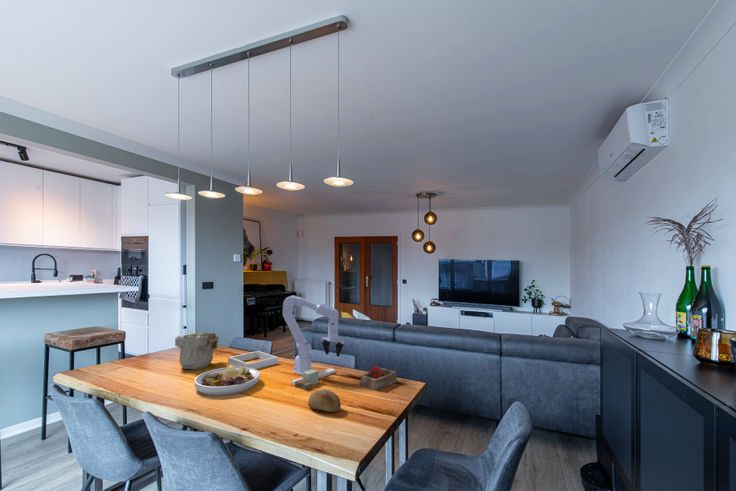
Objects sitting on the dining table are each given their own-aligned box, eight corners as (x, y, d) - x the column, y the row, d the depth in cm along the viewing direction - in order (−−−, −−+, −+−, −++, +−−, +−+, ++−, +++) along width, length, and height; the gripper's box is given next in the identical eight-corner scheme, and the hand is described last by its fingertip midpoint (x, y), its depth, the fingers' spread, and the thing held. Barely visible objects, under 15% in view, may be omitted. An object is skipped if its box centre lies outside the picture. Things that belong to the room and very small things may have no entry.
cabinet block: (302, 384, 168) (302, 372, 168) (312, 380, 173) (312, 369, 174) (308, 386, 165) (308, 374, 165) (318, 382, 171) (318, 370, 171)
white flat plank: (291, 383, 168) (291, 380, 168) (330, 370, 190) (330, 368, 190) (296, 385, 165) (296, 382, 165) (335, 372, 187) (335, 369, 187)
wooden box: (360, 385, 167) (360, 375, 167) (380, 377, 180) (380, 367, 181) (376, 390, 160) (376, 380, 161) (396, 381, 174) (396, 371, 174)
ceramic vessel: (184, 345, 210) (209, 315, 209) (211, 371, 206) (236, 340, 206) (157, 353, 187) (185, 320, 187) (186, 383, 184) (215, 349, 183)
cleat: (294, 386, 165) (294, 381, 165) (301, 384, 168) (301, 379, 168) (305, 390, 159) (306, 385, 159) (312, 388, 162) (312, 383, 163)
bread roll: (334, 417, 132) (334, 397, 132) (302, 411, 137) (302, 391, 138) (344, 408, 141) (345, 389, 141) (314, 402, 146) (314, 383, 147)
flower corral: (228, 363, 199) (228, 357, 200) (257, 357, 215) (258, 350, 216) (247, 371, 186) (247, 364, 186) (277, 363, 202) (277, 356, 202)
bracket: (366, 382, 171) (367, 367, 171) (369, 379, 175) (371, 364, 175) (387, 388, 166) (388, 373, 166) (390, 385, 170) (392, 370, 170)
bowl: (184, 385, 164) (185, 369, 164) (242, 372, 185) (243, 358, 186) (208, 404, 143) (209, 385, 144) (270, 386, 165) (271, 370, 165)
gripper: (318, 330, 188) (317, 354, 187) (339, 333, 180) (339, 358, 180) (325, 328, 194) (325, 352, 193) (346, 331, 187) (346, 355, 186)
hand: (332, 355), depth 187 cm, fingers open, 7 cm apart
